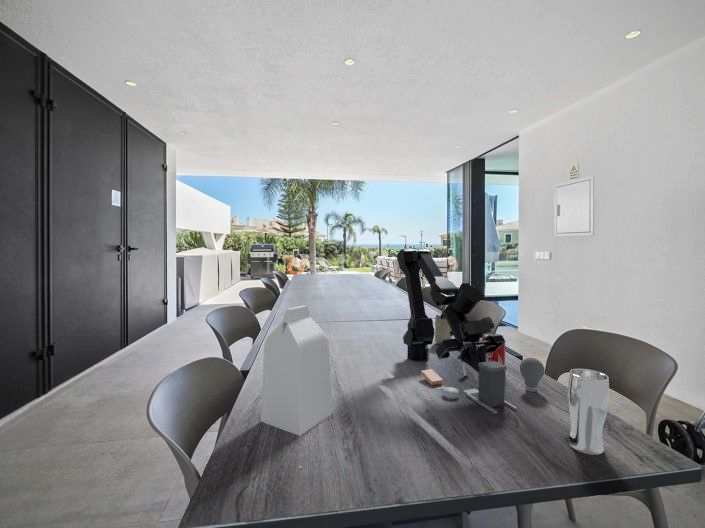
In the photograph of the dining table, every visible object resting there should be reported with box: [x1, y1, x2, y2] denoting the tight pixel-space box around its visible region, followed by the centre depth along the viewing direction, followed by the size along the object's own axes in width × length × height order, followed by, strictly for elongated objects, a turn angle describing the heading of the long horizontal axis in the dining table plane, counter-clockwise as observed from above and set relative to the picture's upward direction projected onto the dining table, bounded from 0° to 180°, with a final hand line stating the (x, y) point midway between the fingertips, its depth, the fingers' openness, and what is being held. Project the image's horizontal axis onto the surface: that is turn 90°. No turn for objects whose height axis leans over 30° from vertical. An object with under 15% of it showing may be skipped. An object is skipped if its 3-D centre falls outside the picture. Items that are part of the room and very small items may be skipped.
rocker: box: [420, 368, 444, 386], centre depth 104 cm, size 6×4×1 cm, turn 20°
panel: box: [432, 384, 518, 415], centre depth 99 cm, size 28×18×3 cm, turn 20°
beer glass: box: [567, 368, 610, 456], centre depth 74 cm, size 7×7×15 cm
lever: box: [459, 359, 469, 376], centre depth 109 cm, size 2×2×5 cm
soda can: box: [481, 332, 506, 366], centre depth 114 cm, size 7×7×12 cm
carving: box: [434, 312, 452, 345], centre depth 147 cm, size 6×8×12 cm
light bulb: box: [519, 357, 546, 393], centre depth 99 cm, size 6×6×10 cm
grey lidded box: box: [477, 361, 508, 408], centre depth 91 cm, size 4×5×10 cm
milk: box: [260, 304, 333, 437], centre depth 85 cm, size 12×12×26 cm
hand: (485, 375), depth 93 cm, fingers closed, pressing on grey lidded box
